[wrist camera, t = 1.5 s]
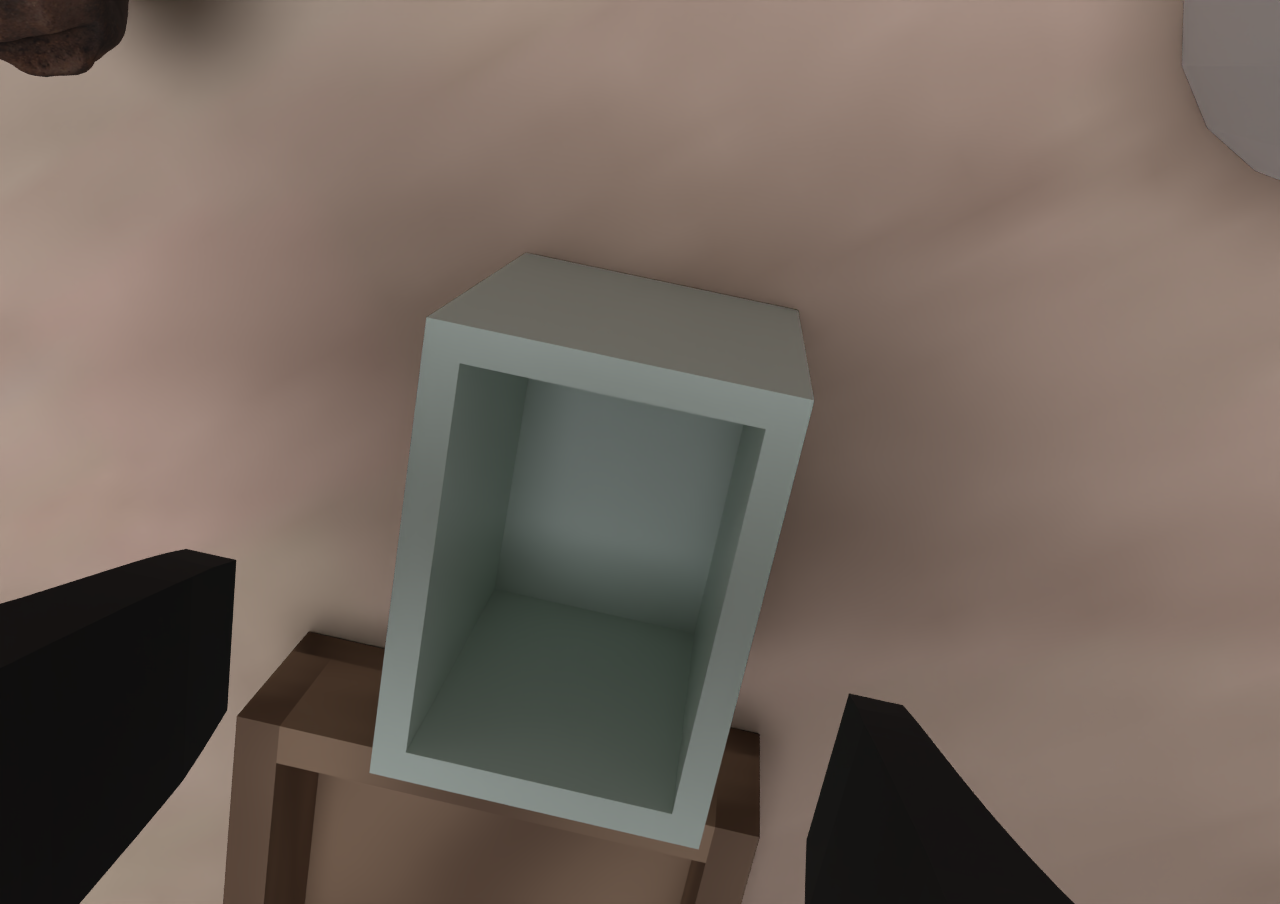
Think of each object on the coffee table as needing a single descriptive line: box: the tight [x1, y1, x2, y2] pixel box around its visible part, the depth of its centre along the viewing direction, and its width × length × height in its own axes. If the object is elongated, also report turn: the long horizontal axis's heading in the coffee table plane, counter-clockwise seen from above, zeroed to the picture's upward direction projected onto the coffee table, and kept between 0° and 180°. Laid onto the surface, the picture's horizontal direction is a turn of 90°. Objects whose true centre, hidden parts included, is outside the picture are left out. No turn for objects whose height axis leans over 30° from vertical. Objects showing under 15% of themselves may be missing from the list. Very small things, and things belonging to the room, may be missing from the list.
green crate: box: [369, 253, 814, 850], centre depth 17 cm, size 5×7×6 cm
